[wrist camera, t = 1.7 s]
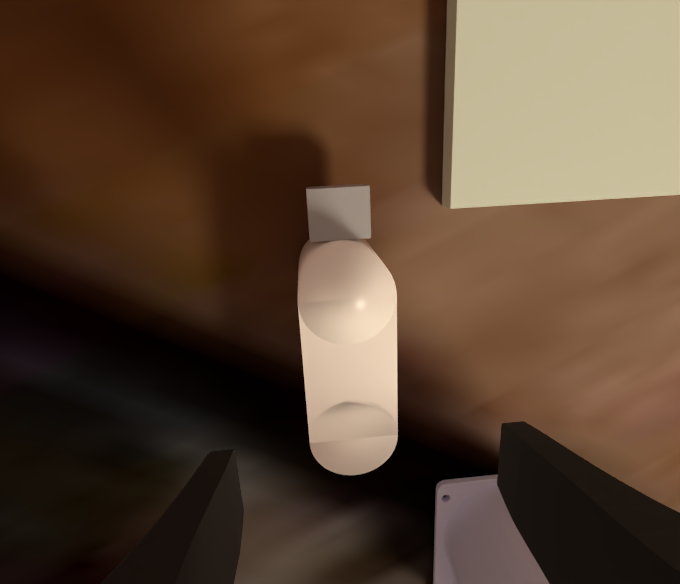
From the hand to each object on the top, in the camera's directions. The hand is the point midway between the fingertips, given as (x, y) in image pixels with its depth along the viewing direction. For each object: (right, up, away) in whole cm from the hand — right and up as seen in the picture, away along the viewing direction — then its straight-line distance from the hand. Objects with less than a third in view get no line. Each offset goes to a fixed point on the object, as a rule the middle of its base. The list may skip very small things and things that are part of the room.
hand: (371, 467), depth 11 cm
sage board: (+11, +15, +7) cm, 20 cm away
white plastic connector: (-1, +4, +9) cm, 10 cm away
